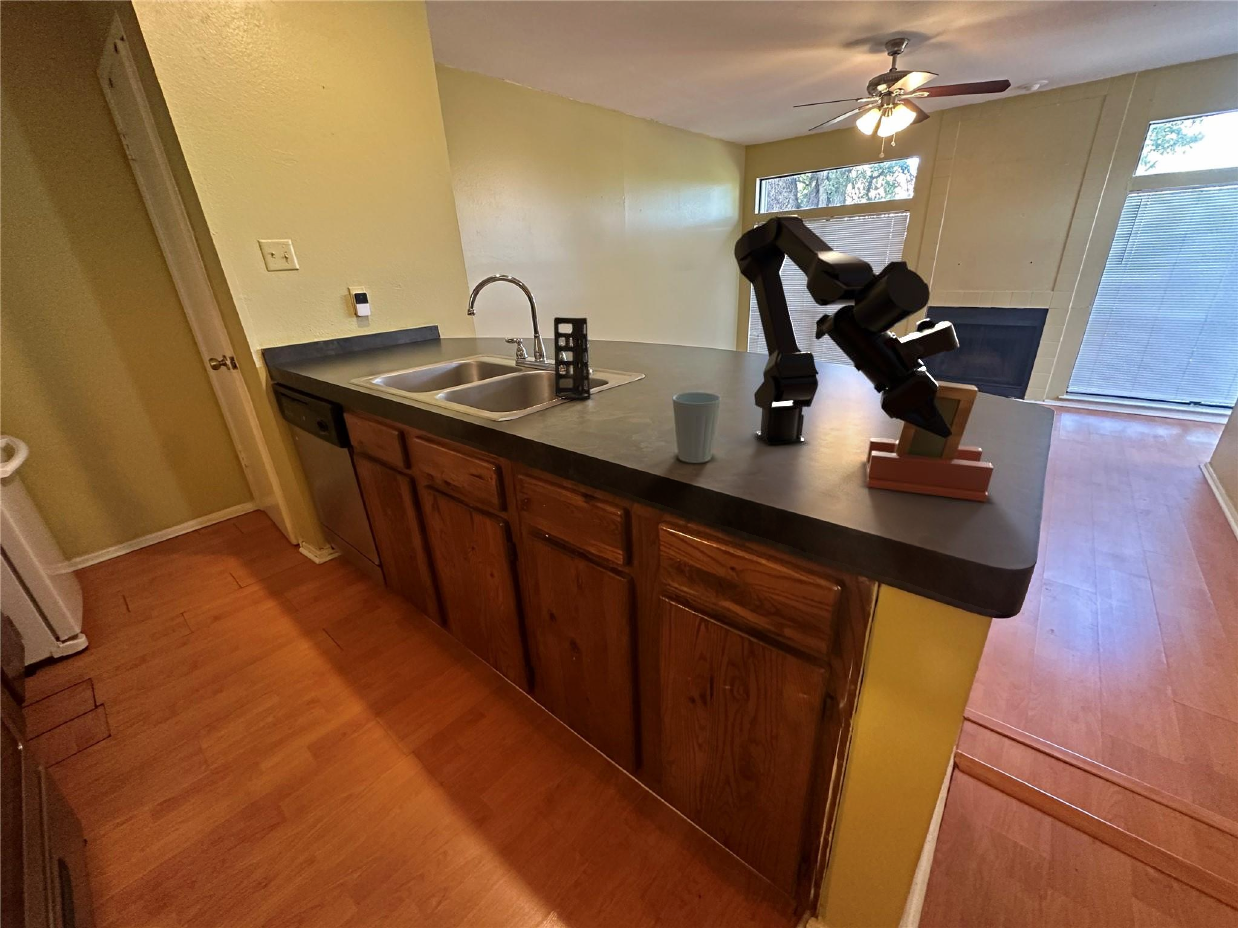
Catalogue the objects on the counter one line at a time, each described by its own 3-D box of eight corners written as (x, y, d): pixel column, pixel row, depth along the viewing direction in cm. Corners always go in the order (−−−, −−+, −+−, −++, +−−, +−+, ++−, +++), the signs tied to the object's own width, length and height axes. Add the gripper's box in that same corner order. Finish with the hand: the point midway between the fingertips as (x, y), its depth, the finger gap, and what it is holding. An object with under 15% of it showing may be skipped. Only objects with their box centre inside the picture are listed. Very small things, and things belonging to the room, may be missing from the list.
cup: (726, 455, 81) (729, 395, 77) (701, 469, 76) (703, 405, 72) (689, 446, 86) (690, 389, 82) (663, 459, 81) (663, 398, 77)
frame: (890, 470, 69) (916, 382, 64) (890, 463, 71) (914, 378, 66) (946, 482, 66) (978, 390, 61) (944, 474, 68) (975, 385, 63)
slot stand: (867, 486, 68) (872, 457, 66) (865, 462, 76) (870, 435, 75) (986, 501, 62) (995, 470, 61) (970, 473, 71) (978, 445, 69)
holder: (547, 397, 123) (545, 317, 118) (561, 393, 130) (560, 317, 124) (585, 400, 119) (585, 317, 114) (598, 396, 126) (598, 318, 120)
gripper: (933, 304, 54) (1028, 407, 53) (915, 296, 69) (988, 375, 69) (846, 371, 60) (931, 463, 59) (848, 349, 75) (915, 422, 75)
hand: (944, 427), depth 66 cm, fingers open, 8 cm apart
